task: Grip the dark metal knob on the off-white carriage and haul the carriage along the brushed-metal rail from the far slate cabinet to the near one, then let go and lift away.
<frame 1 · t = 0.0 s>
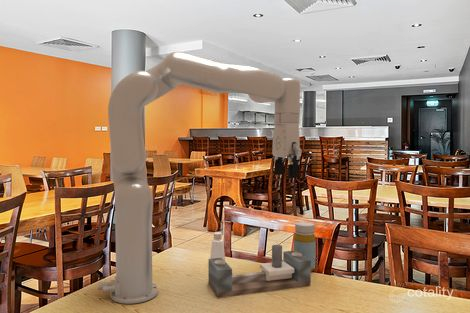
hand: (286, 176, 116), 31 cm above the table, tool pointing down, fingers open, 9 cm apart
bottle: (304, 269, 124), on the table
rail track: (259, 284, 110), on the table
carriage: (276, 261, 112), point 6 cm above the table, slide at 0.0 cm
pepper shaker: (217, 265, 127), on the table
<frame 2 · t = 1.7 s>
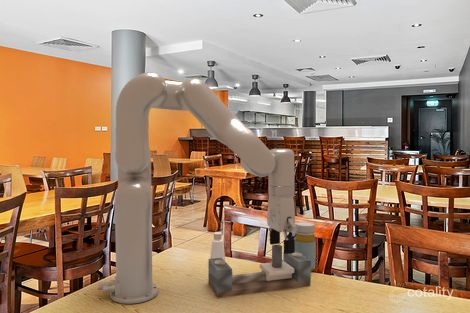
hand: (281, 248, 112), 10 cm above the table, tool pointing down, fingers open, 9 cm apart
nothing on the table moved.
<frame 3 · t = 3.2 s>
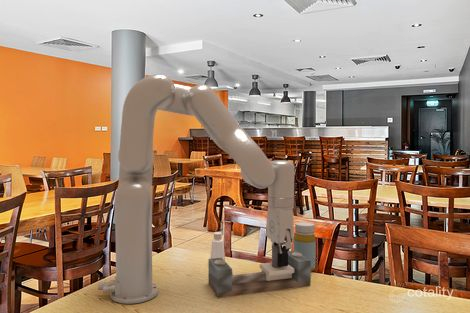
hand: (279, 263, 112), 6 cm above the table, tool pointing down, fingers closed on carriage, 3 cm apart
carriage: (276, 261, 112), point 6 cm above the table, slide at 0.0 cm, touching gripper
everything else where it was.
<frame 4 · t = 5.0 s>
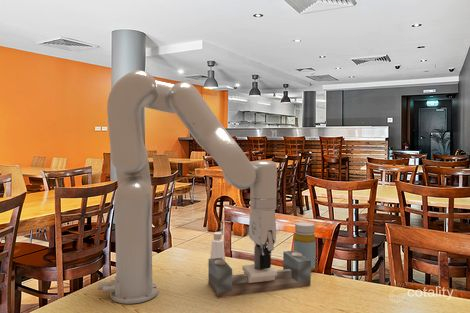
hand: (262, 265, 110), 6 cm above the table, tool pointing down, fingers closed on carriage, 3 cm apart
carriage: (259, 263, 110), point 6 cm above the table, slide at 5.5 cm, touching gripper
everything else where it was.
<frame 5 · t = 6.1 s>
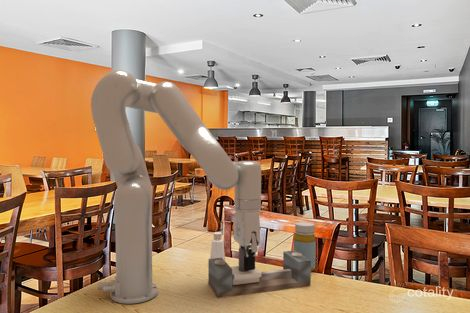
hand: (247, 267, 109), 6 cm above the table, tool pointing down, fingers closed on carriage, 3 cm apart
carriage: (243, 265, 109), point 6 cm above the table, slide at 10.4 cm, touching gripper
everything else where it was.
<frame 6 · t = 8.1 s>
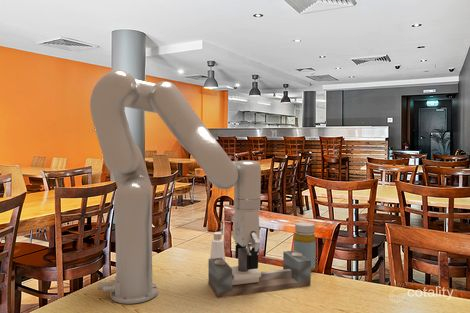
hand: (246, 263, 109), 7 cm above the table, tool pointing down, fingers open, 9 cm apart
carriage: (243, 265, 109), point 6 cm above the table, slide at 10.5 cm
everything else where it was.
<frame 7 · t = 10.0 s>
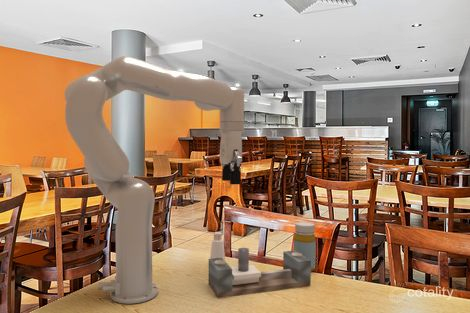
hand: (231, 182, 119), 29 cm above the table, tool pointing down, fingers open, 9 cm apart
nothing on the table moved.
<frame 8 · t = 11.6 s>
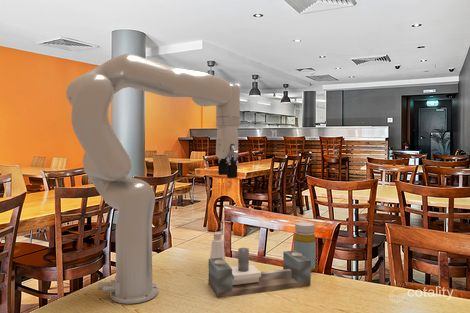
hand: (227, 176, 122), 30 cm above the table, tool pointing down, fingers open, 9 cm apart
nothing on the table moved.
at the end: carriage slide at 10.5 cm; the gripper is holding nothing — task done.
